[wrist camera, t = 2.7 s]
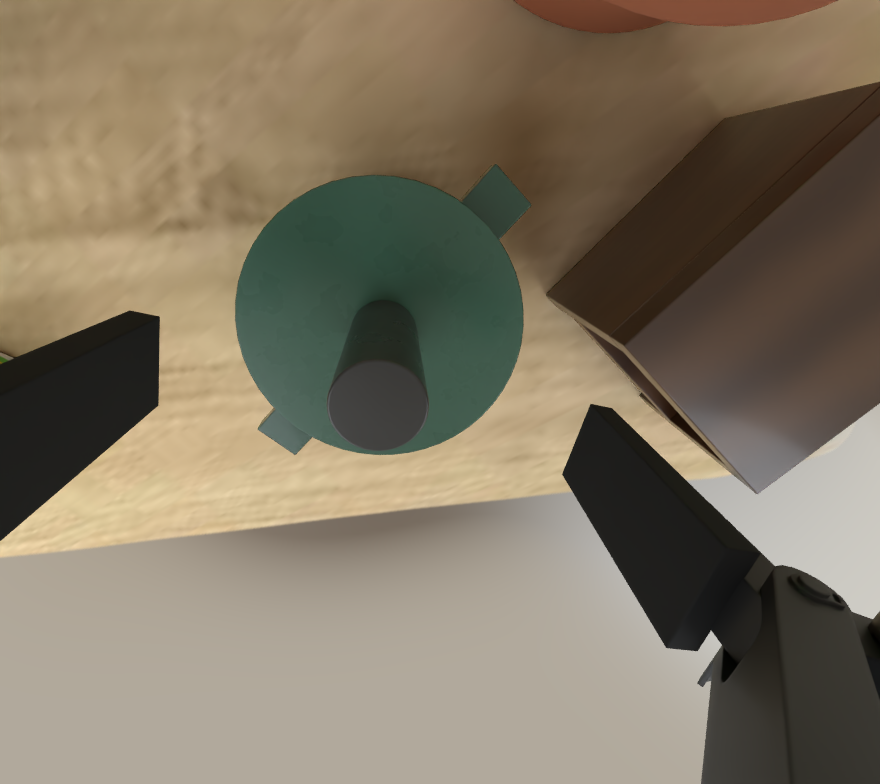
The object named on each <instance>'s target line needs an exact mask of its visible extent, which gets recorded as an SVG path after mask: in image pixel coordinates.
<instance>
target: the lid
mask: <svg viewBox="0 0 880 784" xmlns="http://www.w3.org/2000/svg"><path fill="white" fill-rule="evenodd" d="M235 321H236V328H237V336H238V341H239V344H240V348H241V352H242V355H243V358H244V360H245V363H246V365H247V368H248V370H249V372H250V374H251V376H252V378H253V379H254V381H255V383H256V385H257V386H258V388H259V390H260V391H261V392H262V394H263V395H264V396H265V397H266V399H267V400H268V401H269V403H270V404H271V405H272V406H273V407H274V408H275V409H276V410H277V411H278V412H279V413H280V414H281V415H282V416H283V417H284V418H285V419H287V420H288V421H289V422H290V423H292V424H293V425H294V426H295V427H297V428H298V429H300V430H302V431H303V432H305V433H306V434H308V435H310V436H311V437H313V438H315V439H318V440H320V441H322V442H324V443H326V444H329V445H332V446H334V447H337V448H340V449H343V450H348V451H353V452H357V453H364V454H374V455H394V454H402V453H410V452H414V451H418V450H422V449H426V448H429V447H432V446H434V445H437V444H440V443H442V442H444V441H446V440H448V439H450V438H452V437H454V436H456V435H457V434H459V433H460V432H462V431H463V430H465V429H467V428H468V427H469V426H471V425H472V424H473V423H474V422H475V421H477V420H478V419H479V418H480V417H481V416H482V415H483V414H484V413H485V412H486V411H487V410H488V409H489V408H490V407H491V406H492V405H493V403H494V402H495V401H496V399H497V398H498V396H499V395H500V394H501V392H502V391H503V389H504V387H505V385H506V384H507V382H508V380H509V378H510V376H511V374H512V372H513V369H514V367H515V364H516V362H517V358H518V354H519V351H520V347H521V342H522V334H523V303H522V296H521V290H520V286H519V283H518V279H517V275H516V272H515V270H514V267H513V265H512V263H511V260H510V258H509V256H508V254H507V252H506V251H505V249H504V247H503V246H502V244H501V242H500V241H499V239H498V238H497V236H496V235H495V234H494V233H493V231H492V230H491V229H490V228H489V226H488V225H487V224H486V223H485V222H484V221H483V220H482V219H481V218H480V217H479V216H478V215H477V214H476V213H475V212H474V211H473V210H471V209H470V208H469V207H467V206H466V205H465V204H463V203H462V202H460V201H459V200H458V199H456V198H455V197H453V196H451V195H449V194H447V193H445V192H444V191H442V190H440V189H438V188H436V187H433V186H430V185H428V184H425V183H422V182H419V181H416V180H412V179H407V178H402V177H397V176H386V175H365V176H354V177H348V178H344V179H340V180H336V181H332V182H329V183H326V184H324V185H321V186H319V187H316V188H314V189H311V190H310V191H308V192H306V193H305V194H303V195H301V196H300V197H298V198H296V199H294V200H293V201H292V202H290V203H289V204H288V205H287V206H286V207H284V208H283V209H282V210H281V211H279V212H278V213H277V214H276V215H275V216H274V217H273V218H272V220H271V221H270V222H269V223H268V224H267V225H266V226H265V227H264V228H263V230H262V231H261V233H260V234H259V236H258V237H257V239H256V240H255V242H254V243H253V245H252V247H251V249H250V251H249V253H248V255H247V257H246V260H245V262H244V264H243V268H242V271H241V274H240V278H239V281H238V287H237V294H236V300H235Z"/></svg>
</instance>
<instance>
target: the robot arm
mask: <svg viewBox="0 0 880 784" xmlns="http://www.w3.org/2000/svg"><path fill="white" fill-rule="evenodd" d="M159 328H160V317H159V316H154V315H149V314H144V313H139V312H134V311H127V312H125V313H123V314H120V315H118V316H115V317H113V318H111V319H108V320H106V321H103V322H101V323H98V324H96V325H94V326H91V327H89V328H86V329H84V330H82V331H79V332H77V333H74V334H72V335H69V336H67V337H65V338H62V339H60V340H57V341H55V342H52V343H50V344H48V345H45V346H43V347H40V348H38V349H36V350H33V351H31V352H28V353H26V354H23V355H21V356H19V357H16V358H14V359H11V360H9V361H6V362H4V363H2V364H0V541H1V540H2V539H3V538H4V537H6V536H7V535H8V534H9V533H10V532H11V531H13V530H14V529H15V528H16V527H17V526H18V525H20V524H21V523H22V522H23V521H24V520H25V519H27V518H28V517H29V516H30V515H31V514H32V513H34V512H35V511H36V510H37V509H38V508H39V507H41V506H42V505H43V504H44V503H45V502H46V501H48V500H49V499H50V498H51V497H52V496H53V495H55V494H56V493H57V492H58V491H59V490H60V489H62V488H63V487H64V486H65V485H66V484H67V483H69V482H70V481H71V480H72V479H73V478H74V477H76V476H77V475H78V474H79V473H80V472H81V471H82V470H84V469H85V468H86V467H87V466H88V465H89V464H91V463H92V462H93V461H94V460H95V459H96V458H98V457H99V456H100V455H101V454H102V453H103V452H105V451H106V450H107V449H108V448H109V447H110V446H112V445H113V444H114V443H115V442H116V441H117V440H119V439H120V438H121V437H122V436H123V435H124V434H126V433H127V432H128V431H129V430H130V429H131V428H133V427H134V426H135V425H136V424H137V423H138V422H140V421H141V420H142V419H143V418H144V417H145V416H147V415H148V414H149V413H150V412H151V411H152V410H154V409H155V408H156V407H157V406H158V396H159ZM562 475H563V476H564V478H565V480H566V481H567V483H568V485H569V486H570V488H571V490H572V491H573V493H574V495H575V496H576V498H577V500H578V502H579V503H580V505H581V507H582V508H583V510H584V511H585V513H586V514H587V517H588V518H589V520H590V522H591V523H592V525H593V526H594V528H595V530H596V531H597V533H598V535H599V537H600V538H601V540H602V541H603V543H604V545H605V547H606V548H607V550H608V552H609V553H610V555H611V557H612V558H613V560H614V562H615V563H616V565H617V566H618V568H619V570H620V571H621V573H622V575H623V576H624V578H625V580H626V582H627V583H628V585H629V587H630V588H631V590H632V592H633V593H634V595H635V597H636V598H637V600H638V602H639V603H640V605H641V606H642V608H643V610H644V611H645V613H646V615H647V617H648V618H649V620H650V622H651V623H652V625H653V626H654V628H655V630H656V631H657V633H658V635H659V637H660V638H661V640H662V641H663V643H664V645H665V646H666V648H672V649H681V650H691V651H698V650H699V648H700V646H701V645H702V643H703V642H704V640H705V639H706V637H707V636H708V634H709V632H710V630H712V632H713V633H714V635H715V636H716V637H717V639H718V640H719V641H720V643H721V644H722V646H721V648H720V649H719V651H718V652H717V654H716V655H715V657H714V658H713V660H712V661H711V662H710V664H709V666H708V667H707V669H706V670H705V671H704V673H703V675H702V676H701V677H700V679H699V681H698V684H699V685H700V686H702V687H703V686H704V684H705V683H706V682H707V681H711V690H710V700H709V710H708V720H707V731H706V740H705V750H704V761H703V770H702V781H701V784H880V612H879V613H878V614H877V615H876V616H875V618H874V619H870V618H867V617H864V616H862V615H859V614H856V613H853V612H851V610H850V608H849V607H848V605H847V604H846V602H845V601H844V600H843V598H842V597H841V596H839V595H838V594H837V593H836V592H835V591H834V590H832V589H831V588H829V587H828V586H827V585H825V584H824V583H823V582H821V581H819V580H818V579H816V578H815V577H812V576H811V575H809V574H807V573H805V572H802V571H800V570H798V569H795V568H792V567H788V566H783V565H782V566H774V565H773V564H772V563H771V562H770V561H769V560H768V559H767V558H766V557H765V556H764V555H763V554H762V553H761V552H760V551H758V549H757V548H756V547H755V546H753V545H752V544H751V543H750V542H749V541H748V540H747V539H746V538H745V537H744V536H743V535H742V534H741V533H740V532H739V531H738V530H737V529H736V528H735V527H734V526H733V525H732V524H731V523H730V522H729V521H728V520H726V519H725V518H724V517H723V515H722V514H720V512H718V511H717V510H716V509H715V508H714V507H713V506H712V505H711V504H710V503H709V502H708V501H707V500H705V498H704V497H702V496H701V494H699V493H698V492H697V491H696V490H695V489H694V488H693V487H692V486H691V485H690V484H689V483H688V482H687V481H686V480H685V479H684V478H683V477H682V476H681V475H680V474H679V473H678V472H677V471H676V470H675V469H674V468H673V467H672V466H671V465H670V464H669V463H668V462H667V461H666V460H665V459H664V458H662V457H661V456H660V455H659V454H658V453H657V452H656V451H655V450H654V449H653V448H652V447H651V446H650V445H649V444H648V443H647V442H646V441H645V440H644V439H643V438H642V437H641V436H640V435H639V434H638V433H637V432H636V431H635V430H634V429H633V428H632V427H631V426H630V425H629V424H628V423H626V422H625V421H624V420H623V419H622V418H621V417H620V416H619V415H618V414H617V413H616V412H615V411H614V410H613V409H612V408H608V407H603V406H598V405H593V404H591V405H590V407H589V410H588V412H587V414H586V417H585V419H584V422H583V424H582V427H581V429H580V432H579V434H578V437H577V439H576V442H575V444H574V446H573V449H572V451H571V454H570V456H569V459H568V461H567V464H566V466H565V469H564V471H563V474H562Z"/></svg>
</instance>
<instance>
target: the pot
mask: <svg viewBox="0 0 880 784" xmlns="http://www.w3.org/2000/svg"><path fill="white" fill-rule="evenodd" d="M460 202H462V203H463V204H465V205H466V206H467V207H469V208H470V209H471V210H473V211H474V212H475V213H476V214H477V215H478V216H479V217H480V218H481V219H482V220H483V221H484V222H485V223H486V224H487V225H488V226H489V228H490V229H491V230H492V231H493V233H494V234H495V235H496V236H497V238H498V239H500V238H501V237H502V236H503V235H504V234H505V233H506V232H507V231H508V230H509V229H510V228H511V226H512V225H513V224H514V223H515V222H516V221H517V220H518V219H519V218H520V217H521V216H522V215H523V214H524V213H525V212H526V211H527V210H528V208H529V207H530V206H531V203H530V202H529V201H528V200H527V199H526V198H525V196H524V195H523V194H522V193H521V192H520V191H519V190H518V188H517V187H516V186H515V185H514V184H513V183H512V181H511V180H510V179H509V178H508V177H507V176H506V174H505V173H504V172H503V171H502V170H501V169H500V167H499V166H498V165H497V164H494V165H491V166H490V167H489V168H488V169H487V170H486V172H485V173H484V174H483V175H482V176H481V177H480V178H479V179H478V180H477V182H476V183H475V184H474V185H473V186H472V187H471V188H470V189H469V191H468V192H467V193H466V194H465V195H464V196H463V197H462V198H461V199H460ZM258 430H259V431H261V432H262V433H264V434H265V435H267V436H268V437H270V438H271V439H273V440H274V441H275V442H277V443H278V444H280V445H281V446H283V447H284V448H286V449H287V450H289V451H290V452H292V453H293V454H294V455H296V454H297V453H298V452H299V451H300V450H301V448H302V447H303V446H304V445H305V444H306V443H307V442H308V441H309V440H310V439H311V438H312V437H311V436H310V435H308V434H306V433H305V432H303V431H302V430H300V429H298V428H297V427H295V426H294V425H293V424H292V423H290V422H289V421H288V420H287V419H285V418H284V417H283V416H282V415H281V414H280V413H279V412H278V411H277V410H276V409H275V408H273V409H272V410H271V411H270V413H269V414H268V415H267V416H266V417H265V418H264V419H263V420H262V422H261V424H260V425H259V427H258Z"/></svg>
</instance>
